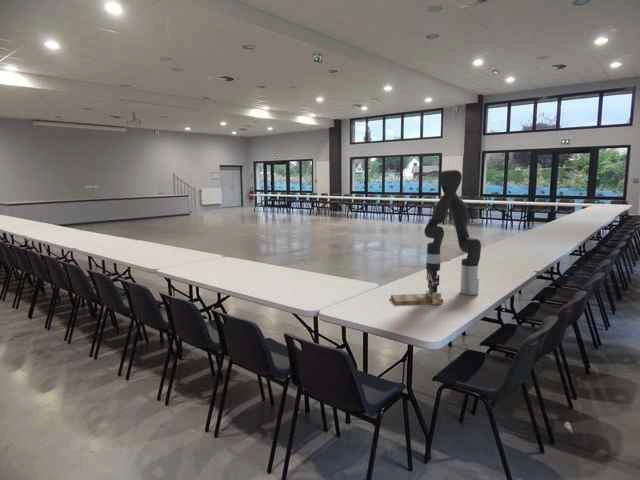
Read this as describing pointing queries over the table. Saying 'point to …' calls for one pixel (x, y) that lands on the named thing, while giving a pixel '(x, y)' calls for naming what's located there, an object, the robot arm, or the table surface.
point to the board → (412, 299)
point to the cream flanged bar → (434, 294)
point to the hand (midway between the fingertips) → (432, 290)
